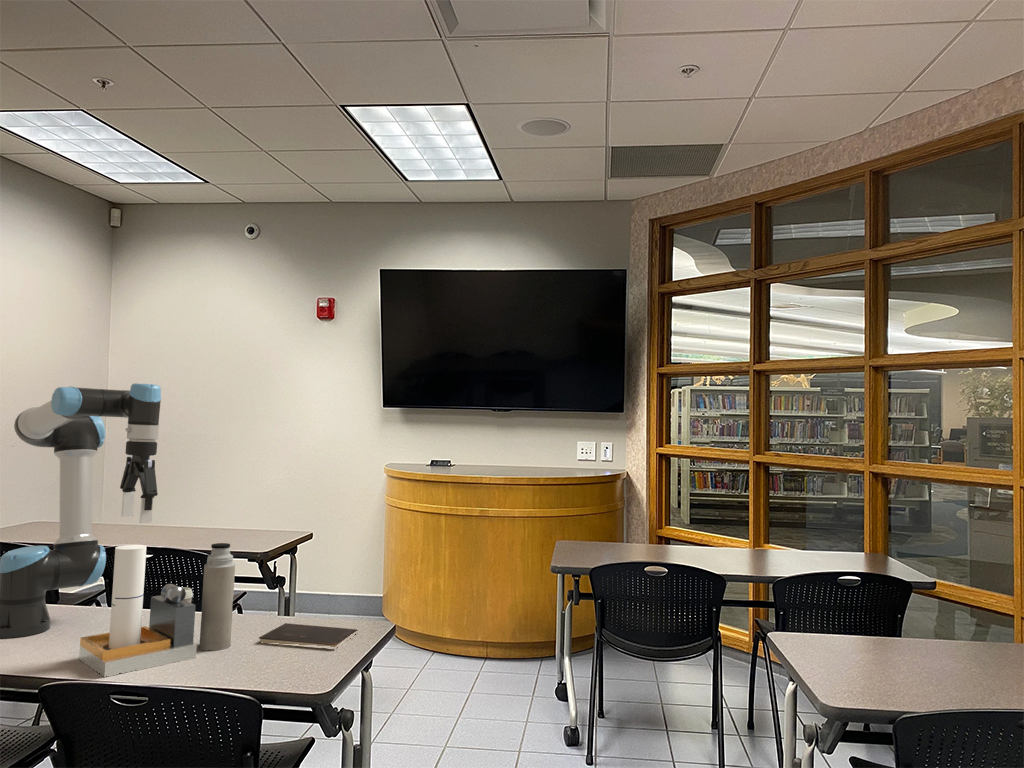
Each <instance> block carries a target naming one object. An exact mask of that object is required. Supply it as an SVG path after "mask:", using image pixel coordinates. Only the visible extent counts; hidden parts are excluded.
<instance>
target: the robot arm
mask: <svg viewBox="0 0 1024 768" xmlns="http://www.w3.org/2000/svg"><path fill="white" fill-rule="evenodd" d="M129 389H130V390H129ZM129 389H127V390H124V389H122V390H121V389H107V388H105V389H104V388H91V387H75V386H59V387H56V389H54V391H53V393H52V396H51V400H49V401H47V402H45V403H44V404H42V405H40V406H35V407H29V408H27V409H25V410H23V411H22V412H20V413H19V414H18V415H17V417H16V418H15V420H14V425H13V427H14V431H15V433H16V435H17V436H18V438H19V439H20V440H21V441H22V442H24V443H26V444H28V445H31V446H33V447H38V448H53V455H54V456H56V457H57V458H58V459H59V537H58V539H56V540H55V542H54V543H53V549H50V548H49V546H48V545H30V546H25V547H20V548H15V549H12V550H9V551H7V552H4V553H3V555H1V556H0V639H9V638H10V639H11V638H21V637H29V636H33V635H37V634H40V633H44V632H46V631H48V630H49V629H50V628H51V617H50V613H49V611H48V607H47V603H46V592H47V591H52V590H61V589H68V588H69V589H70V588H76V587H84V586H87V585H93V584H95V583H97V582H98V581H99V580H100V579H101V577H102V575H103V574H104V570H105V568H106V563H107V554H106V553H107V552H106V548H105V547H104V546H103V545H100V544H99V539H98V538H97V537H96V536H95V535H93V457H94V456H95V455H96V454H98V449H99V448H101V447H102V446H103V445H104V443H105V439H106V428H105V424H104V421H103V419H102V418H103V417H107V418H108V417H109V418H124V419H125V418H127V427H126V428H125V431H126V439H128V440H127V442H126V443H125V454H126V456H127V457H126V460H125V461H126V462H125V466H124V470H123V474H122V477H121V481H120V487H119V488H120V489H121V491H122V503H121V517H133V516H134V502H135V493H136V488H135V487H136V484H137V482H138V480H139V483H140V488H141V493H142V494H141V495H140V497H139V498H141V499H140V512H139V523H140V524H147V523H149V524H150V523H152V521H153V509H154V508H153V507H154V498H155V497H157V496H158V494H159V493H158V488H157V487H158V485H157V476H156V460H155V459H151V458H150V457H151V456H156V455H157V453H158V452H157V451H158V450H157V449H158V442H157V440H158V439H159V428H160V425H159V424H160V423H159V422H160V411H161V401H162V388H161V386H160V385H158V384H153V383H152V384H149V383H137V382H136V383H132V384H131V385H130V388H129Z"/></svg>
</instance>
